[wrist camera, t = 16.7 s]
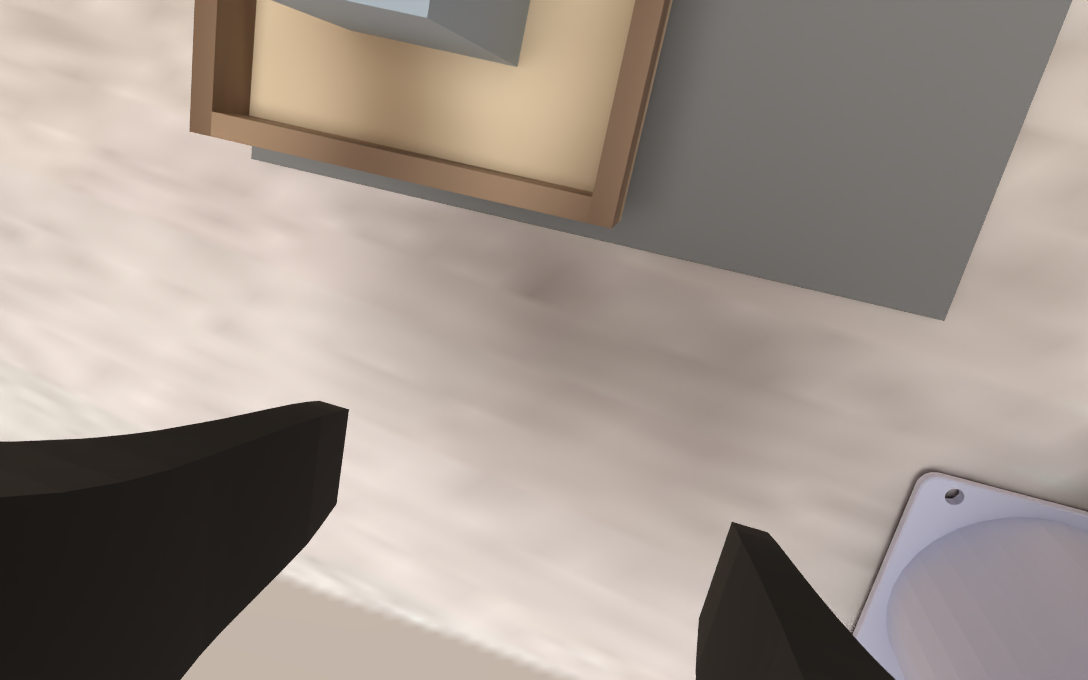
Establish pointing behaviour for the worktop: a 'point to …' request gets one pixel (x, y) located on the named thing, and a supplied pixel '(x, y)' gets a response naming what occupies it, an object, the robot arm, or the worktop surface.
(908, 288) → the plate
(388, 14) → the block
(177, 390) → the worktop surface
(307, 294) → the worktop surface
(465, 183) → the shallow wooden tray
